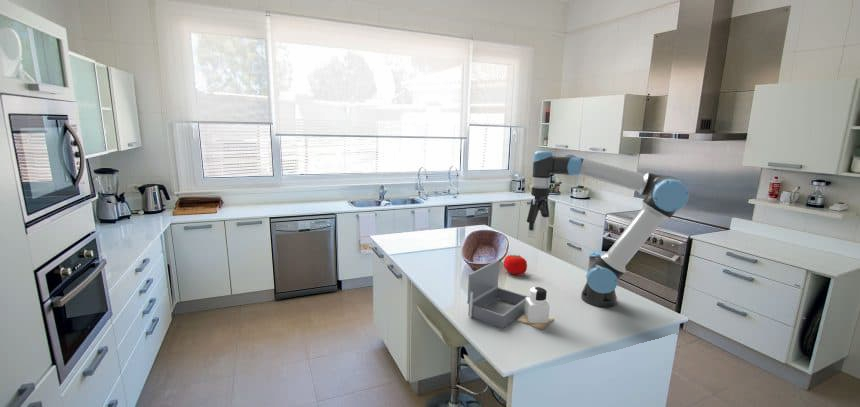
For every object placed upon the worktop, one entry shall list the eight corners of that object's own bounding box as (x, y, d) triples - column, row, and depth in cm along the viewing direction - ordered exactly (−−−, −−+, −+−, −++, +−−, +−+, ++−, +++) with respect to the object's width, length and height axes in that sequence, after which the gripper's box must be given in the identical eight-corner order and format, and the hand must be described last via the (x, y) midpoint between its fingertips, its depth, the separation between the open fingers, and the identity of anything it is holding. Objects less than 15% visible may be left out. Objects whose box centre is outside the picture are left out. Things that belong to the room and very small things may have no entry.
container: (542, 314, 164) (544, 285, 162) (548, 323, 157) (551, 293, 154) (524, 314, 164) (526, 285, 161) (529, 323, 156) (531, 292, 154)
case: (529, 307, 172) (532, 268, 168) (501, 329, 152) (504, 285, 149) (495, 296, 182) (497, 259, 178) (465, 315, 163) (467, 274, 159)
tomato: (522, 279, 204) (524, 260, 202) (499, 273, 211) (501, 255, 209) (529, 272, 214) (530, 254, 212) (507, 267, 220) (508, 250, 218)
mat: (553, 319, 161) (553, 318, 161) (542, 329, 153) (543, 328, 153) (528, 311, 168) (528, 310, 168) (517, 320, 159) (517, 319, 159)
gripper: (542, 183, 182) (539, 227, 186) (520, 189, 162) (517, 238, 166) (558, 184, 178) (555, 229, 182) (538, 191, 158) (534, 241, 162)
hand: (537, 234), depth 174 cm, fingers open, 13 cm apart
